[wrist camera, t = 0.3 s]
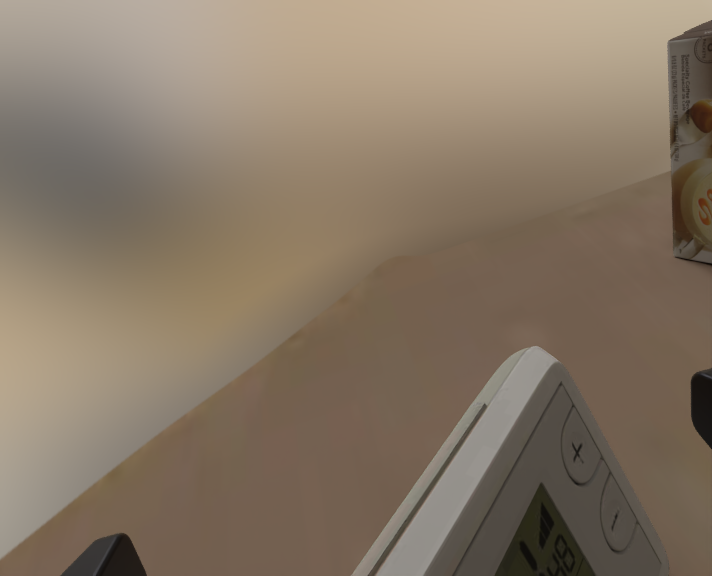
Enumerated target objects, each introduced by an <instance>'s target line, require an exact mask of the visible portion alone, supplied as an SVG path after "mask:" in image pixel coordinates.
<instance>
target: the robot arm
mask: <svg viewBox="0 0 712 576" xmlns="http://www.w3.org/2000/svg"><path fill="white" fill-rule="evenodd" d="M691 418H692V422H693V425H694V427H695V429H696V430H697V432H698V433H699V435H700V436H701V437H702V438H703V439H704V441H705V442H706V443H707V444H708V445H709V446H710V448H711V449H712V368H710V369H707V370H703V371H699V372H697V373H695V374H694V375H693V376H692V379H691ZM60 576H147V575H146V572H145V569H144V567H143V565H142V563H141V561H140V559H139V556H138V554H137V552H136V550H135V548H134V546H133V544H132V541H131V540H130V538H129V536H128V535H127V534H125V533H117V534H114V535H110V536H106V537H103V538H100V539H97V540H95V541H94V542H93V543H92V544H91V545H90V546H89V547H88V548H87V549H86V550H85V551H84V552H83V553H82V554H81V555H80V556H79V557H78V558H77V559H76V560H75V561H74V562H73V563H72V564H71V565H70V566H69V567H68V568H67V569H66V570H65V571H64V572H63V573H62V574H61V575H60Z"/></svg>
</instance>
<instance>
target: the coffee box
mask: <svg viewBox="0 0 712 576" xmlns="http://www.w3.org/2000/svg"><path fill="white" fill-rule="evenodd" d="M667 48H668V81H669V112H670V150H671V154H670V155H671V187H672V219H673V254H674V256H675V257H679V258H685V259H690V260H695V261H700V262H706V263H711V264H712V20H711V21H708V22H706V23H703V24H701V25H699V26H696V27H694V28H692V29H690V30H688V31H686V32H684V34H682V35H680V36H678V37H675V38H673V39H671V40H669V41H668V45H667Z"/></svg>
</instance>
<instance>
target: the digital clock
mask: <svg viewBox="0 0 712 576" xmlns="http://www.w3.org/2000/svg"><path fill="white" fill-rule="evenodd" d="M351 576H669V561H668V557H667V554H666V551H665V549H664V546H663V544H662V542H661V540H660V538H659V536H658V534H657V532H656V530H655V529H654V527H653V525H652V523H651V521H650V519H649V518H648V516H647V514H646V512H645V510H644V508H643V507H642V505H641V503H640V501H639V499H638V497H637V495H636V494H635V492H634V490H633V488H632V486H631V484H630V483H629V481H628V479H627V477H626V475H625V473H624V472H623V470H622V468H621V466H620V464H619V462H618V461H617V459H616V457H615V455H614V453H613V451H612V450H611V448H610V446H609V444H608V442H607V440H606V438H605V437H604V435H603V433H602V431H601V429H600V427H599V426H598V424H597V422H596V420H595V418H594V416H593V415H592V413H591V411H590V409H589V407H588V405H587V404H586V402H585V400H584V398H583V396H582V394H581V393H580V391H579V389H578V387H577V386H576V384H575V382H574V380H573V379H572V377H571V375H570V374H569V372H568V371H567V369H566V368H565V367H564V365H563V364H562V363H560V362H559V361H558V360H557V359H555V358H554V357H553V356H551V355H550V354H549V353H547V352H546V351H544V350H543V349H541V348H540V347H538V346H534V347H529V348H526V349H522V350H520V351H518V352H517V353H515V354H513V355H512V356H510V357H509V358H508V359H507V360H506V361H505V362H504V363H503V364H502V365H501V366H500V367H499V368H498V370H497V371H496V372H495V373H494V375H493V376H492V377H491V379H490V380H489V381H488V383H487V384H486V385H485V387H484V388H483V389H482V391H481V392H480V394H479V395H478V396H477V398H476V399H475V400H474V402H473V403H472V404H471V406H470V407H469V408H468V410H467V411H466V413H465V414H464V416H463V417H462V418H461V420H460V421H459V423H458V424H457V426H456V427H455V428H454V430H453V431H452V433H451V434H450V436H449V437H448V438H447V440H446V441H445V443H444V444H443V445H442V447H441V448H440V450H439V451H438V453H437V454H436V455H435V457H434V458H433V460H432V461H431V463H430V464H429V465H428V467H427V468H426V470H425V471H424V473H423V474H422V475H421V477H420V478H419V480H418V481H417V483H416V484H415V485H414V487H413V488H412V490H411V491H410V493H409V494H408V495H407V497H406V498H405V500H404V501H403V503H402V504H401V505H400V507H399V508H398V510H397V511H396V513H395V514H394V515H393V517H392V518H391V520H390V521H389V522H388V524H387V525H386V527H385V528H384V530H383V531H382V532H381V534H380V535H379V537H378V538H377V540H376V541H375V542H374V544H373V545H372V547H371V548H370V550H369V551H368V552H367V554H366V555H365V557H364V558H363V560H362V561H361V562H360V564H359V565H358V567H357V568H356V570H355V571H354V572H353V574H352V575H351Z"/></svg>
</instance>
